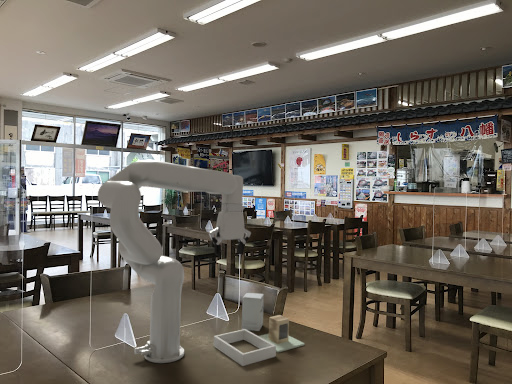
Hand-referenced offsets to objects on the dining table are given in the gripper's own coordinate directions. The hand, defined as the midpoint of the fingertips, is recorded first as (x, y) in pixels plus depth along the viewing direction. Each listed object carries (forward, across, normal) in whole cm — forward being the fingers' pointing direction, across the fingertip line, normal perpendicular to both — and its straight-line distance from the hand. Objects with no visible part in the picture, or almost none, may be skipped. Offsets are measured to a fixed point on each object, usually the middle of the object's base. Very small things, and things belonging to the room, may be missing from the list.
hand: (229, 254), depth 146 cm
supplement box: (+30, -14, -3) cm, 33 cm away
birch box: (+29, -14, +14) cm, 35 cm away
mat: (+30, -14, +14) cm, 36 cm away
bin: (+30, +1, +15) cm, 34 cm away
